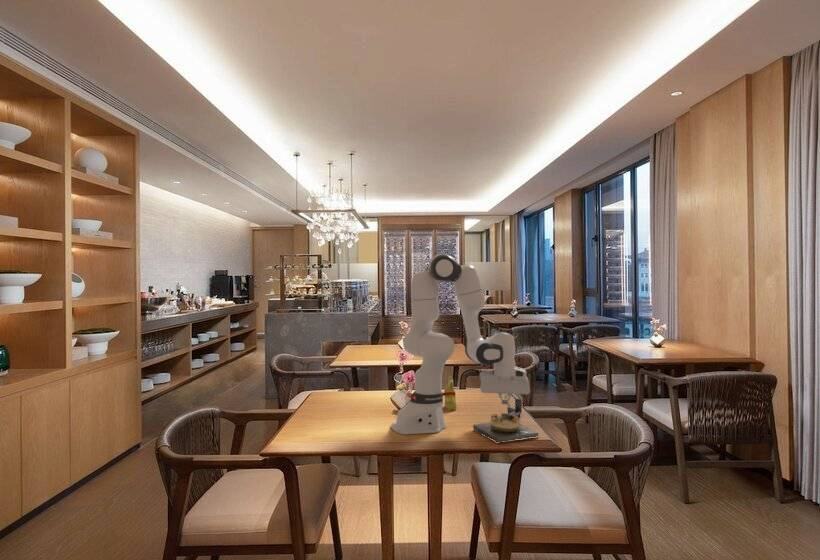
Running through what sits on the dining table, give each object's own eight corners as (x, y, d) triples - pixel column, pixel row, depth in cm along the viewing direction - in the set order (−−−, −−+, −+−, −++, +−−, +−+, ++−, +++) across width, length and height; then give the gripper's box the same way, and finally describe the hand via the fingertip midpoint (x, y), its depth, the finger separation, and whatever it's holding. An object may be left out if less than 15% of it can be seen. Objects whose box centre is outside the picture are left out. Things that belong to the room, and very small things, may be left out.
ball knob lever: (511, 434, 178) (511, 411, 178) (485, 428, 185) (485, 406, 185) (532, 422, 193) (532, 400, 193) (507, 417, 200) (507, 396, 200)
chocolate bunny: (452, 404, 230) (452, 373, 230) (458, 410, 219) (458, 378, 219) (438, 405, 229) (438, 374, 229) (443, 411, 218) (443, 378, 218)
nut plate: (497, 443, 174) (497, 437, 174) (473, 429, 191) (473, 424, 191) (538, 437, 181) (538, 431, 181) (511, 424, 198) (511, 419, 198)
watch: (524, 417, 209) (524, 392, 209) (506, 417, 208) (506, 392, 208) (521, 413, 214) (521, 389, 214) (503, 413, 214) (503, 389, 214)
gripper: (479, 371, 197) (479, 404, 197) (529, 372, 193) (530, 406, 193) (479, 368, 203) (480, 400, 203) (529, 369, 199) (529, 402, 199)
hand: (505, 403), depth 198 cm, fingers closed
